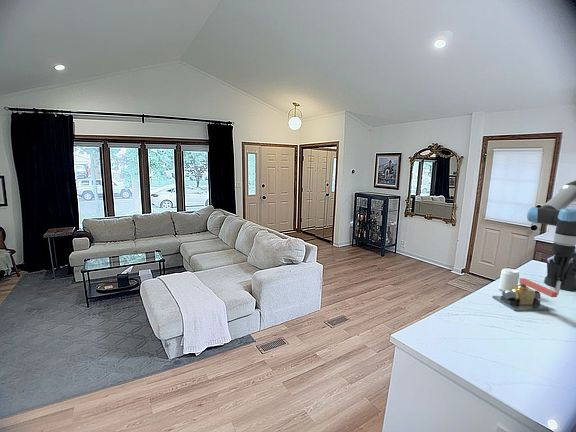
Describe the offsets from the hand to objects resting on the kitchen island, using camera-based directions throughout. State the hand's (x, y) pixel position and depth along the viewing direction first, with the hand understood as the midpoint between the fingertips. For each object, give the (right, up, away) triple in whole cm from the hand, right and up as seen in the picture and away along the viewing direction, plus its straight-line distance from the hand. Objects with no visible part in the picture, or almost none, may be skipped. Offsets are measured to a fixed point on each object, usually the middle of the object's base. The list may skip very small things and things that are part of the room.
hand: (554, 293), depth 136 cm
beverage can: (+1, -6, +31) cm, 32 cm away
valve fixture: (-4, -9, +15) cm, 18 cm away
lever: (-4, -1, +6) cm, 7 cm away
